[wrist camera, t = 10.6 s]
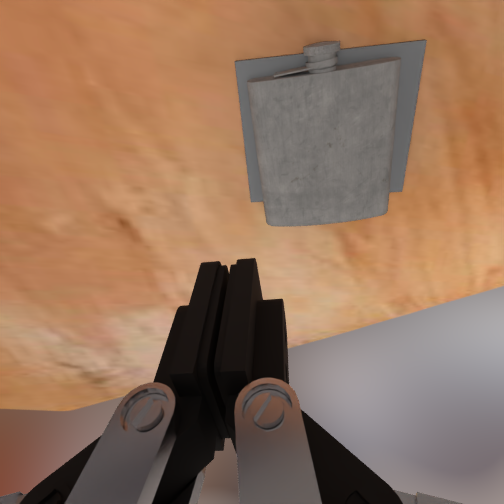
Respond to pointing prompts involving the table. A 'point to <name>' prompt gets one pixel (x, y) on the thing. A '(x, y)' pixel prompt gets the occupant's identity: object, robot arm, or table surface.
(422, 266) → the table surface
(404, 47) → the mat
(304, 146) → the hip flask
